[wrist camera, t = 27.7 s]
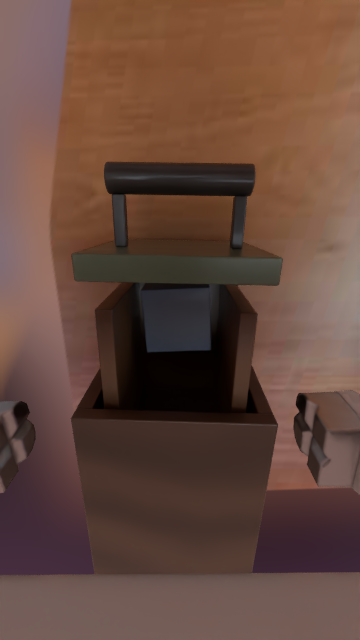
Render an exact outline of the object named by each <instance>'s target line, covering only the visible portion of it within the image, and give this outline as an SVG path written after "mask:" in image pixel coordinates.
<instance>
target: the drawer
mask: <svg viewBox="0 0 360 640" xmlns="http://www.w3.org/2000/svg"><path fill="white" fill-rule="evenodd" d="M104 179H105V185H106V189H107V191H108V193H109V194H112V205H113V221H114V236H115V241H111V242H108V243H105V244H102V245H98V246H95V247H92V248H88V249H85V250H82V251H79V252H75V253H73V254H72V255H71V256H72V264H73V272H74V280H75V281H82V282H122V283H121V284H120V285H119V286H118V287H117V288H116V289H115V290H114V291H113V292H112V293H111V294H110V295H109V296H108V297H107V298H106V299H105V300H104V301H103V302H102V303H101V304H100V305H99V306H98V307H97V308H96V309H95V318H96V328H97V338H98V348H99V358H100V369H101V379H102V389H103V399H104V409H116V410H150V411H184V412H218V413H246V405H247V397H248V389H249V381H250V373H251V364H252V356H253V348H254V340H255V332H256V324H257V316H258V314H257V312H256V311H255V310H254V308H253V307H252V306H251V304H250V303H249V301H248V300H247V299H246V297H245V296H244V295H243V293H242V292H241V291H240V289H239V288H238V287H237V285H268V286H277V285H279V282H280V275H281V268H282V261H283V259H282V258H281V257H279V256H277V255H274V254H272V253H269V252H267V251H265V250H262V249H260V248H257V247H255V246H253V245H250V244H248V243H245V242H243V237H244V227H245V216H246V205H247V196H251V194H252V192H253V188H254V183H255V165H254V164H232V163H160V162H106V163H105V167H104ZM124 194H133V195H195V196H235V197H234V198H233V209H232V222H231V235H230V241H217V240H164V239H128V226H127V205H126V195H124ZM145 283H175V284H209V286H210V301H211V350H200V351H172V352H147V348H146V338H145V329H144V319H143V310H142V300H141V289H142V288H143V286H144V285H145Z"/></svg>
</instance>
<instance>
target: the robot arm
mask: <svg viewBox="0 0 360 640" xmlns="http://www.w3.org/2000/svg"><path fill="white" fill-rule="evenodd" d="M296 406H297V408H298V409H299V411H300V412H299V413H298V414H297V415H296V416H295V417H294V434H295V439H296V442H297V445H298V447H299V449H300V451H301V452H302V453H304V454H305V455H307V456H308V463H307V465H308V467H309V469H310V471H311V473H312V475H313V477H314V479H315V481H316V483H317V485H318V487H353V488H352V489H353V490H354V491H355V492H356V493H358V494H359V495H360V395H359V394H358V393H357V392H355V391H353V390H346V391H334V392H315V393H299V394H298V396H297V400H296ZM29 413H30V412H29V409H28V406H27V404H26V403H24V402H22V401H0V493H4V492H5V490H6V489H7V487H8V486H9V484H10V483H11V481H12V480H13V478H14V477H15V475H16V474H17V472H18V464H19V463H20V462H21V461H23V460H24V459H26V458H27V457H28V455H29V454H30V452H31V451H32V449H33V445H34V442H35V428H34V425H33V424H32V423H31V422H30V421H29V420H27V417H28V415H29ZM0 640H360V573H359V572H357V573H355V572H353V573H227V574H100V575H0Z"/></svg>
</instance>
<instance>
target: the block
mask: <svg viewBox="0 0 360 640" xmlns="http://www.w3.org/2000/svg"><path fill="white" fill-rule="evenodd" d="M141 300H142V310H143V319H144V329H145V338H146V348H147V352H172V351H200V350H211V301H210V286H209V284H175V283H145V285H144V286H143V288H142V289H141Z"/></svg>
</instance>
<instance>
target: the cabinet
mask: <svg viewBox="0 0 360 640" xmlns="http://www.w3.org/2000/svg"><path fill="white" fill-rule="evenodd" d="M71 422H72V428H73V434H74V442H75V448H76V455H77V461H78V468H79V474H80V481H81V487H82V494H83V500H84V507H85V514H86V520H87V526H88V533H89V540H90V546H91V553H92V560H93V566H94V573H95V575H100V574H227V573H252V568H253V563H254V557H255V551H256V546H257V540H258V535H259V529H260V523H261V518H262V512H263V507H264V501H265V495H266V490H267V484H268V478H269V473H270V467H271V461H272V456H273V450H274V444H275V439H276V433H277V427H278V424H277V421H276V419H275V417H274V415H273V413H272V410H271V408H270V406H269V404H268V401H267V399H266V397H265V395H264V392H263V390H262V388H261V385H260V383H259V381H258V379H257V376H256V374H255V372H254V369H253V367H252V365H251V373H250V381H249V389H248V397H247V405H246V413H218V412H184V411H150V410H116V409H104V399H103V389H102V379H101V369H99V371H98V372H97V374H96V376H95V378H94V379H93V381H92V383H91V385H90V386H89V388H88V390H87V391H86V393H85V395H84V397H83V398H82V400H81V402H80V403H79V405H78V407H77V409H76V411H75V412H74V414H73V416H72V418H71Z"/></svg>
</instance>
